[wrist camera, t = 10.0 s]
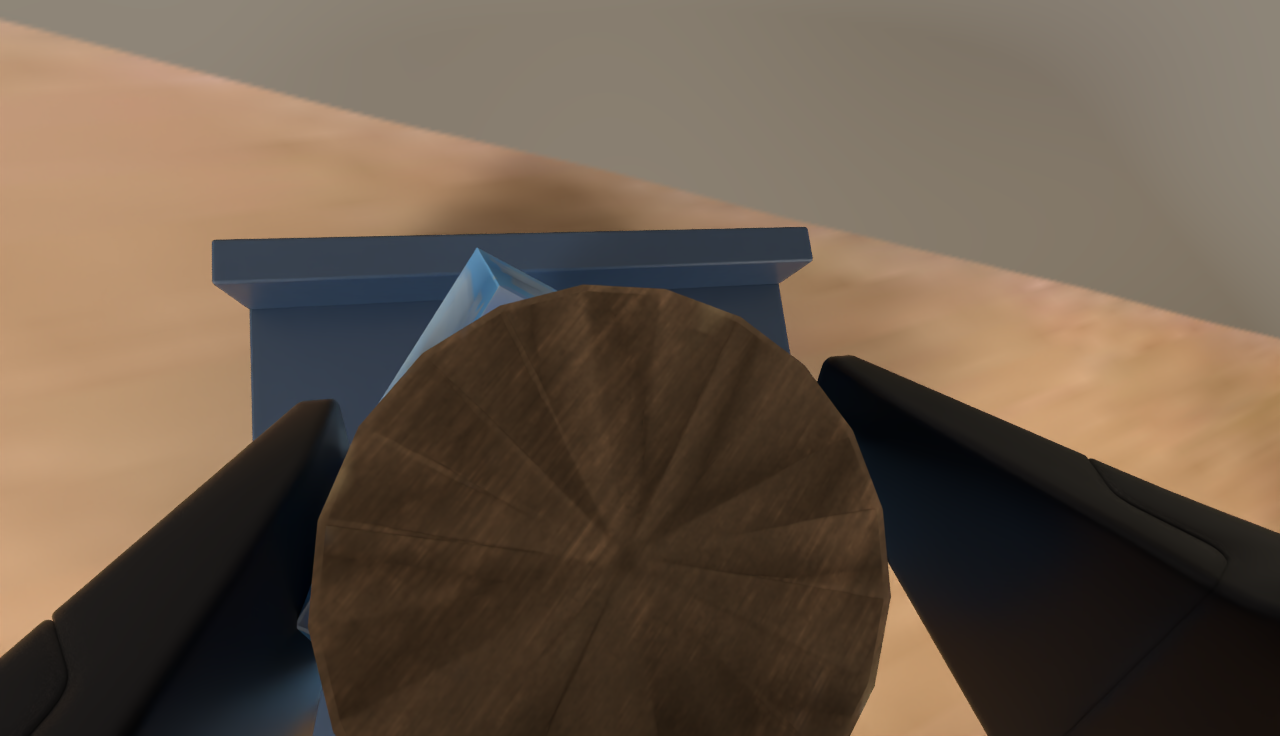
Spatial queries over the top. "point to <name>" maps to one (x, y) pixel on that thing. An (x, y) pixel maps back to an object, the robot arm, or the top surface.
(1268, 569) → the robot arm
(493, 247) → the riser shelf
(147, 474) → the top surface
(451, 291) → the perfume bottle
